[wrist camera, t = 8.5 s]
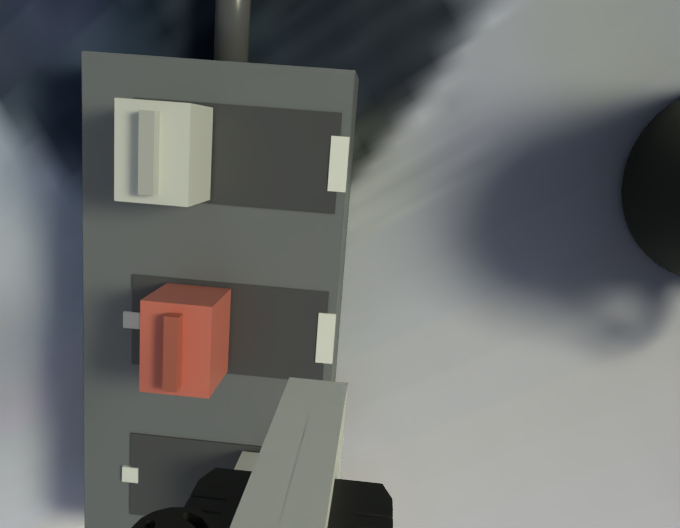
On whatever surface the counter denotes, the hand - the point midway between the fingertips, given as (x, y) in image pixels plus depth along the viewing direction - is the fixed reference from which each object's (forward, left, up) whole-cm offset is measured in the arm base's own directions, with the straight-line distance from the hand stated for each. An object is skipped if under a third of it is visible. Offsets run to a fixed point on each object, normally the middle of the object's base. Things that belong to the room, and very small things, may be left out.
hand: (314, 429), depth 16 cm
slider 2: (+2, -7, -13) cm, 14 cm away
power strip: (-1, -7, -17) cm, 18 cm away
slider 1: (-6, -8, -13) cm, 16 cm away
